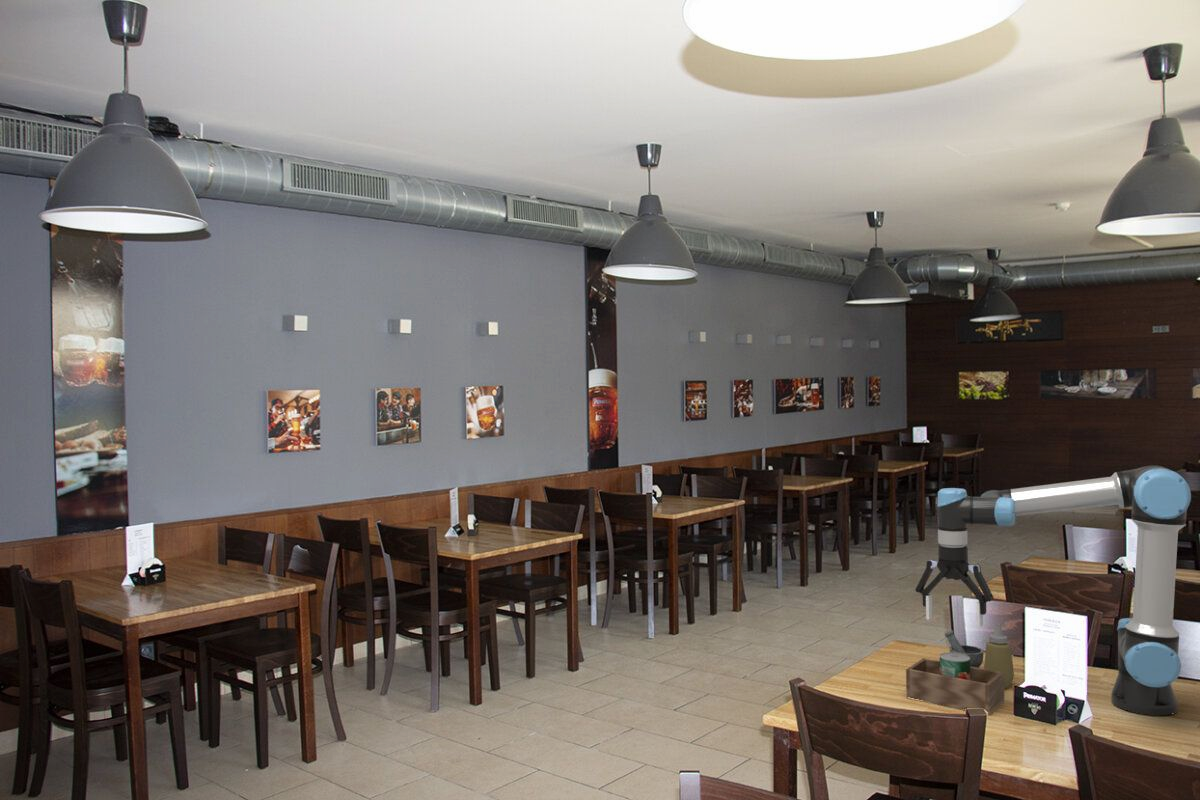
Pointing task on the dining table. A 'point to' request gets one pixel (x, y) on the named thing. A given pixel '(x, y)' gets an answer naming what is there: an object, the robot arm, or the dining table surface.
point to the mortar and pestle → (965, 650)
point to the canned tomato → (955, 665)
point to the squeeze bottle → (999, 655)
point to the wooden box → (955, 687)
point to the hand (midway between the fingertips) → (954, 622)
